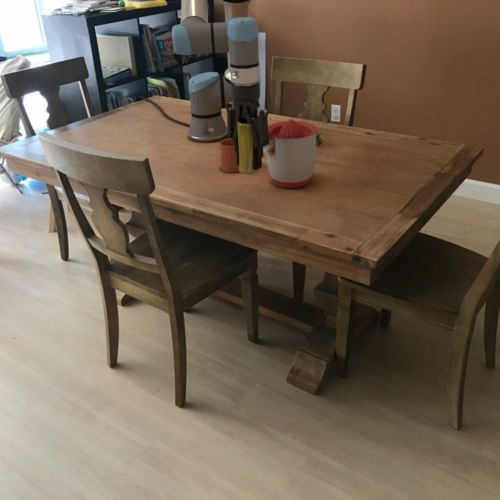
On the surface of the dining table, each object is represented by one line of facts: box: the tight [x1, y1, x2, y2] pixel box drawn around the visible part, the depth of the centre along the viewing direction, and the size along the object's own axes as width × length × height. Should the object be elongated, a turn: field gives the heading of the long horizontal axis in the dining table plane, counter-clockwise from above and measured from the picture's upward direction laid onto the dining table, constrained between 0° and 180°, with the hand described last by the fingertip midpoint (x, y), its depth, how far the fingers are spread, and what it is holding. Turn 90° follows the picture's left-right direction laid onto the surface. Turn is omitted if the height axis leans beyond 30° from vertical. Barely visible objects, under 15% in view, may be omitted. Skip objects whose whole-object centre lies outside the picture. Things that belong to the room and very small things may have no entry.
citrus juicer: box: [263, 118, 318, 189], centre depth 157 cm, size 16×17×20 cm
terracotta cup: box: [219, 138, 241, 174], centre depth 171 cm, size 8×8×9 cm
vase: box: [237, 119, 261, 175], centre depth 143 cm, size 6×6×14 cm
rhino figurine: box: [316, 131, 325, 146], centre depth 188 cm, size 4×14×6 cm, turn 37°
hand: (249, 165), depth 146 cm, fingers closed on vase, 6 cm apart
